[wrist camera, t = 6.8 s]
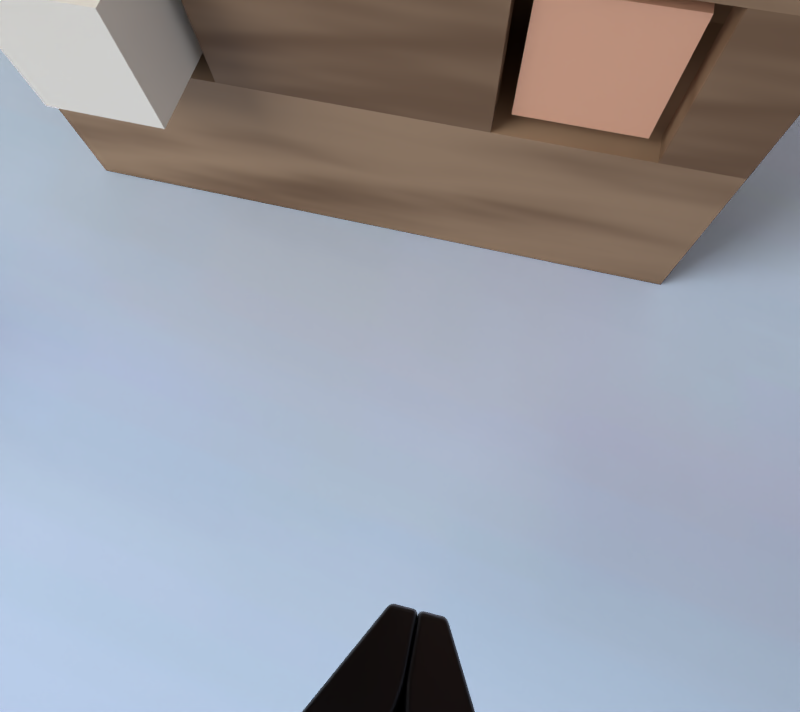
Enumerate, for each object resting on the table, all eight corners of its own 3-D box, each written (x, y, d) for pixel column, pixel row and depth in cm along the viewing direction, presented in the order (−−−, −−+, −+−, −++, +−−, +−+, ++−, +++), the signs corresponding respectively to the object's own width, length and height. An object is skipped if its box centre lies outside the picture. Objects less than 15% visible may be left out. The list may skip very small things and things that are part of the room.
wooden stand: (660, 284, 23) (931, -45, 11) (106, 170, 26) (-175, -192, 14) (677, 143, 25) (915, -258, 13) (167, 53, 28) (-26, -344, 16)
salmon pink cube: (648, 138, 17) (713, 14, 13) (511, 114, 17) (536, -13, 14) (662, 37, 18) (725, -102, 14) (535, 17, 19) (563, -122, 15)
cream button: (164, 129, 18) (95, 8, 14) (46, 106, 18) (-53, -17, 14) (212, 32, 19) (160, -102, 15) (100, 14, 19) (24, -121, 16)
